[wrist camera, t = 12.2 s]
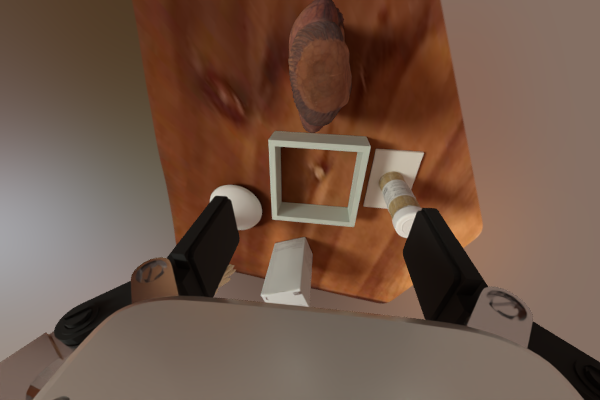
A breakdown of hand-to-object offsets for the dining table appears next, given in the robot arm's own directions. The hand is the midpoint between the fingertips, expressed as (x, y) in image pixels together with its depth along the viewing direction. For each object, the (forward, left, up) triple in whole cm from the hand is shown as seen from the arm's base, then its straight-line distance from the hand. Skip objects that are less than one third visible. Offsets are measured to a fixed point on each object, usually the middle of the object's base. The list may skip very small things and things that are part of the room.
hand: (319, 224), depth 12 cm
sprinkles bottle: (+12, +13, -30) cm, 35 cm away
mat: (+12, +13, -30) cm, 35 cm away
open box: (+12, -1, -30) cm, 33 cm away
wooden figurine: (-6, -1, -31) cm, 31 cm away
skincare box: (+32, -5, -31) cm, 45 cm away
